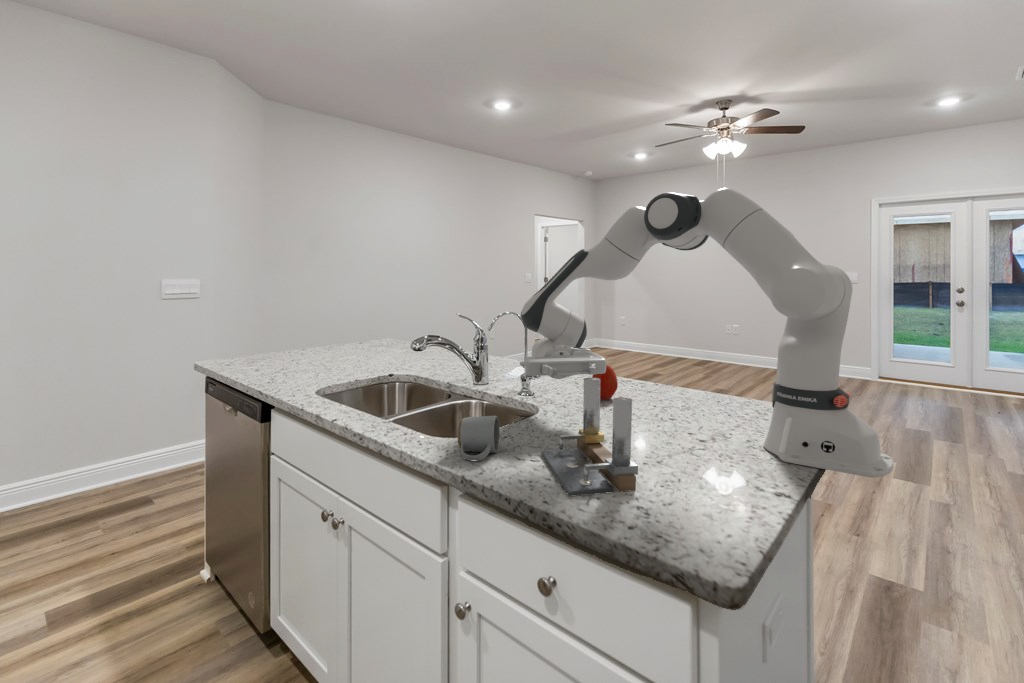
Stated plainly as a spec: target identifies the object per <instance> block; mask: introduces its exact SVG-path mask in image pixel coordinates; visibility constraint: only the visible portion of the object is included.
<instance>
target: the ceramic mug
mask: <svg viewBox="0 0 1024 683" xmlns="http://www.w3.org/2000/svg"><path fill="white" fill-rule="evenodd" d="M500 433H501V432H500V419H499V417H498V416H497V415H485V416H484V415H483V416H481V415H480V416H467V417H464V418H461V419H460V420H459V422H458V426H457V443H458V444H457V445H458V447H459V449H460V451H461V452H460V453H461V456H462V458H463V459H464V458H465V459H464V460H466V459H468V460H480V461H482V460H484V459H485V458H487V456H488V455H489V453H491V454H492V453H493V454H494V453H495V454H496V453H498V451H499V448H500V441H501V440H500V439H501V434H500ZM469 451H472V452H471V453H475V452H476V453H479V454H476V455H469V454H467V453H465V452H469Z"/></svg>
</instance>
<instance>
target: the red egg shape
mask: <svg viewBox="0 0 1024 683" xmlns="http://www.w3.org/2000/svg"><path fill="white" fill-rule="evenodd" d="M591 378H599V379H600V399H601V400H600V401H607V400H610V399H611V398H612V397H613V396H614V394H616V391H617V390H618V386H619V385H618V377H617V374H616V373H615V371H614V369H613V368H612V366H609V365H606V372H605V373H604V374H595V375H591Z"/></svg>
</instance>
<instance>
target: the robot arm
mask: <svg viewBox="0 0 1024 683" xmlns="http://www.w3.org/2000/svg"><path fill="white" fill-rule="evenodd" d="M709 237H710V238H711V239H713V240H714V241H716V243H718V244H719V245H720V247H722V249H724V250H725V251H726V252H727V253H728V254H729V255H730V256H731V257H732V258H733V259H734V260H735V261H736V262H738V263H739V264H740V265H741V267H743V268H744V269H745V270H746V271H747V272H748V274H750V275H751V277H752V278H753V279H754V280H755V282H756V283H757V285H758V286H759V287H760V289H761V290H762V291H763V293H764V294H765V295H766V296H767V298H768V299H769V300H770V302H771V304H772V306H773V307H774V309H775V310H776V311H777V312H778V313H779V314H781V315H783V316H785V317H786V323H785V327H784V330H783V332H782V337H781V340H780V342H779V345H778V348H777V349H778V350H777V351H778V352H777V362H776V363H777V364H776V379H775V380H776V381H775V382H773V388H772V393H771V394H772V395H771V403H772V409H773V410H772V415H771V420H770V424H769V428H768V431H767V435H766V437H765V440H764V441H763V447H764V448H765V450H767V451H768V452H770V453H772V454H774V455H776V456H777V457H778V458H779V459H780V460H781V461H783V462H785V463H788V464H789V463H790V464H795V465H801V466H804V467H805V466H806V467H811V468H816V469H822V470H827V471H833V472H839V473H845V474H849V475H854V476H855V475H856V476H860V477H865V478H873V479H874V478H881V477H885V476H887V475H889V474H890V473H891V472H892V471H893V469H894V460H893V458H892V457H891V456H890V455H888V454H886V453H882V452H881V442H880V439H879V435H878V433H877V431H876V430H875V429H874V428H873V427H872V426H871V425H869V424H868V423H867V422H866V421H865V420H863V419H862V418H861V417H859V415H857V414H856V413H854V412H853V411H852V410H851V409H849V405H850V395H851V393H850V392H849V391H848V392H846V391H844V390H843V389H841V388H840V387H839V378H840V369H841V368H840V367H841V356H842V348H843V342H844V338H845V334H846V329H847V325H848V320H849V313H850V307H851V301H852V295H853V284H852V281H851V279H850V277H849V276H848V274H847V273H846V272H845V271H844V270H842V269H841V268H839V267H837V266H835V265H831V264H823V263H821V262H820V261H818V260H817V259H816V258H815V257H814V256H813V255H812V254H811V253H810V252H809V251H808V250H807V249H806V248H805V247H804V246H803V245H802V244H801V243H800V242H799V240H798V239H797V238H796V237H795V235H794V234H793V233H792V232H791V231H790V230H788V229H787V228H786V227H785V226H784V225H783V224H782V223H781V222H779V221H778V220H777V219H776V218H775V217H774V216H772V215H771V214H770V213H769V212H768V211H766V209H764V208H763V207H762V206H760V204H758V203H757V202H755V201H754V200H752V199H751V198H749V197H748V196H746V195H744V194H742V192H739V191H737V190H735V189H733V188H731V187H723V188H718V189H716V190H715V191H713V192H712V193H710V194H709V195H708V196H707V197H706V198H705V199H702V200H699V197H697V196H696V195H691V194H684V193H679V192H678V193H677V192H664V193H663V192H662V193H660V194H658V195H656V196H655V197H653V198H652V199H651V200H650V201H649V202H648V204H647V205H646V207H643V206H637V205H636V206H635V205H634V206H631V207H629V208H628V209H626V211H625V212H623V213H622V215H620V217H619V218H618V219H617V220H616V221H615V222H614V223H613V225H612V226H611V227H610V228H609V230H608V231H607V232H606V234H605V235H604V236H603V238H602V239H601V240H600V241H599V242H598V243H597V244H596V245H594V246H592V247H590V248H588V249H587V248H586V249H585V248H582V249H580V250H579V251H577V252H575V254H574V255H572V256H571V257H569V259H568V260H567V261H566V262H565V263H564V264H563V265H562V266H561V267H560V268H559V269H558V270H557V272H555V274H554V275H552V277H550V279H548V281H547V282H546V283H544V285H543V286H542V287H541V288H540V289H539V290H538V291H537V292H536V293H535V294H533V295H532V296H531V297H530V298H529V299H528V300H527V301H526V302H525V303H524V305H523V307H522V309H521V312H520V317H521V322H522V323H523V326H524V327H525V329H527V330H530V331H532V332H534V333H537V334H540V335H541V336H543V338H540V339H538V340H536V341H535V342H534V343H533V345H532V348H531V356H527V357H525V358H524V361H520V362H519V366H521V367H522V368H524V369H523V370H524V371H523V372H524V373H525V376H528V377H539V376H540V377H541V376H543V377H544V376H548V377H550V378H552V379H555V380H561V379H565V378H568V377H573V376H576V375H578V376H579V375H591V376H593V375H595V374H604V373H605V372H606V366H607V359H606V358H605V357H603V356H601V355H600V354H598V353H596V352H592V349H591V348H587V347H586V348H585V347H583V346H582V345H583V344H584V342H585V340H586V337H587V336H588V335H587V332H588V330H587V329H588V328H587V323H586V320H585V318H584V317H582V316H581V315H579V314H577V313H576V312H574V311H572V310H570V309H568V308H566V307H565V306H563V305H561V304H560V303H558V302H556V301H555V300H556V299H557V298H558V297H559V296H560V294H562V293H563V291H565V289H567V287H568V286H569V285H570V284H571V283H572V282H573V281H575V280H577V279H581V278H591V279H592V278H593V279H598V280H603V281H604V280H605V281H618V280H622V279H624V278H627V276H629V275H630V274H631V273H632V272H634V270H635V269H636V267H637V266H638V265H639V263H640V262H641V261H642V259H643V258H644V257H645V255H646V253H648V251H649V250H650V249H651V248H652V247H654V245H657V244H662V245H663V246H666V247H670V248H673V249H674V250H675V249H676V250H679V251H692V250H693V251H694V250H695V249H698V248H700V247H701V246H703V245H704V244H705V243H706V242H707V240H708V239H709ZM522 320H523V321H522Z"/></svg>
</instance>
